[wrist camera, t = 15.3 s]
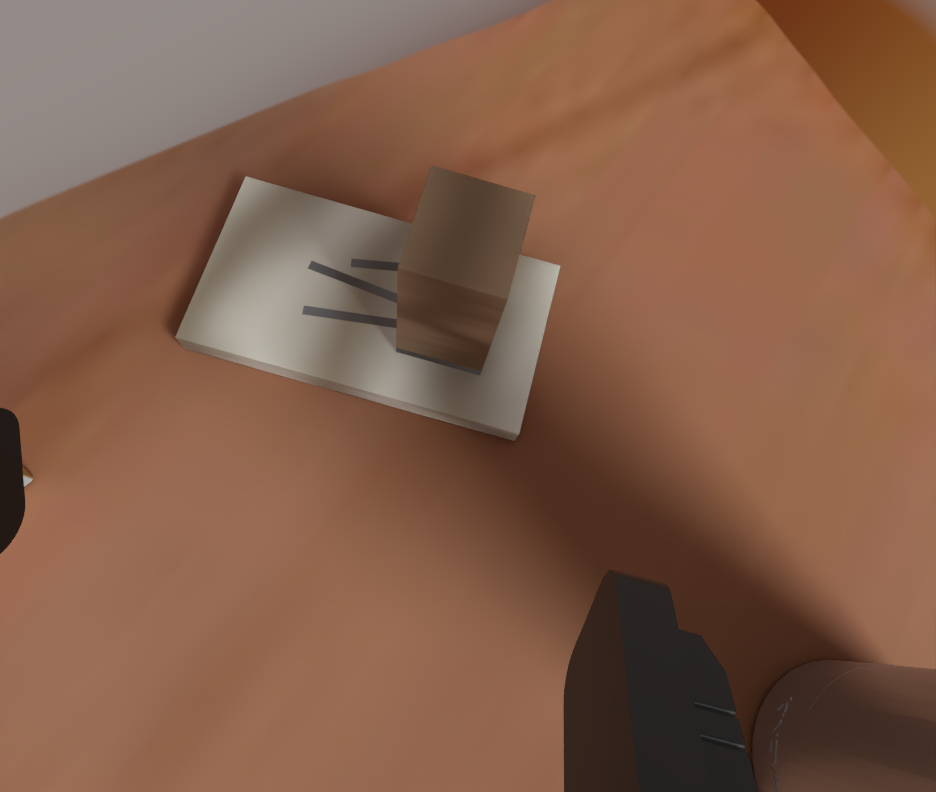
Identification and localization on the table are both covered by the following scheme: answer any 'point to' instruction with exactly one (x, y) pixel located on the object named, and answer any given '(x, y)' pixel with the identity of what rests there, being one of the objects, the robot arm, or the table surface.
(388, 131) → the table surface
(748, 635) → the table surface
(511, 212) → the block
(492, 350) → the board
